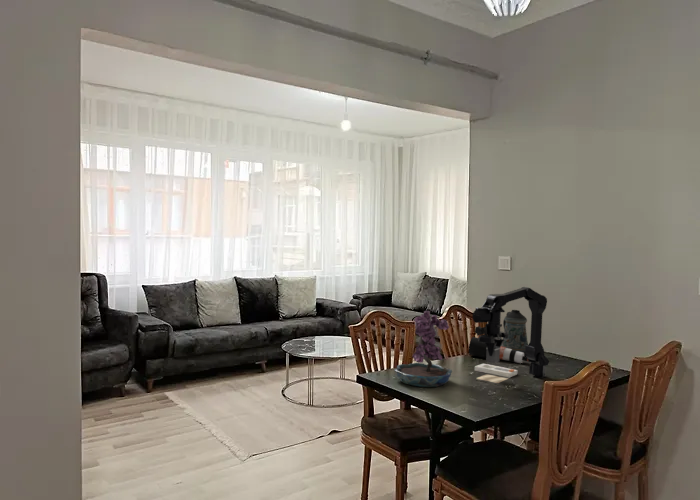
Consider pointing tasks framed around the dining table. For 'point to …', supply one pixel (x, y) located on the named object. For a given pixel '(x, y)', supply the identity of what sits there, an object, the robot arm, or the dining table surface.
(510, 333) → the beer stein
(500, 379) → the birch pad
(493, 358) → the block
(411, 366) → the bonsai tree
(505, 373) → the switch housing
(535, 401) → the dining table surface
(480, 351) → the striped cylinder
